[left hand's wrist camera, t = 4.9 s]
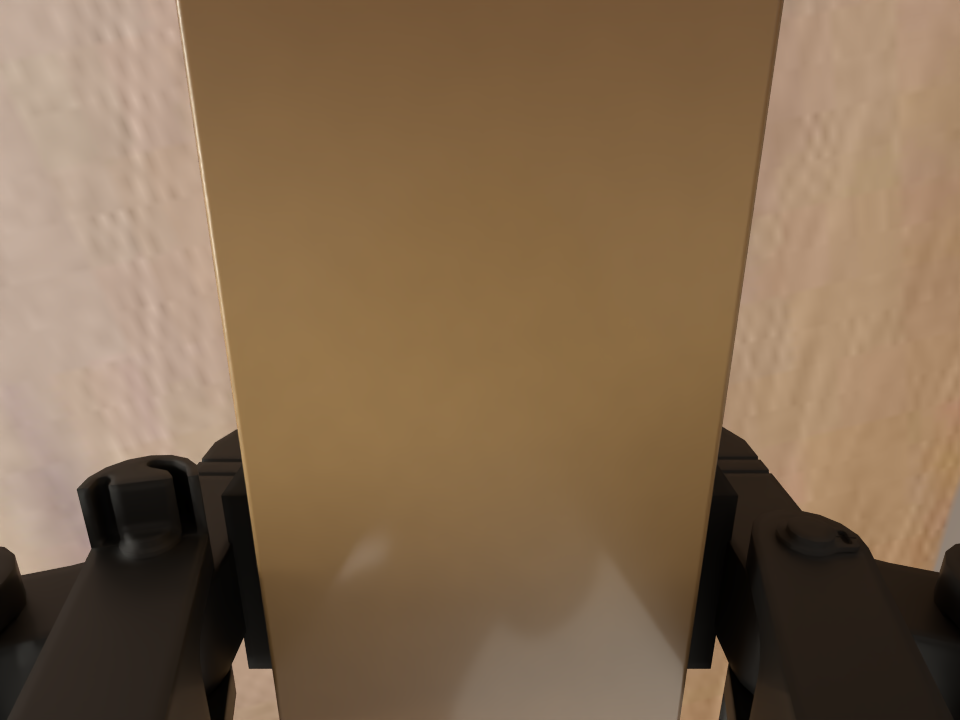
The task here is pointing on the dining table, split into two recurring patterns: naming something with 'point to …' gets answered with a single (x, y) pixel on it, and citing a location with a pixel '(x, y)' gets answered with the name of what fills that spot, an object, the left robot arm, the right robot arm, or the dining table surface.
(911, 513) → the dining table surface
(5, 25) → the dining table surface
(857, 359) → the dining table surface
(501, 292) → the bar
